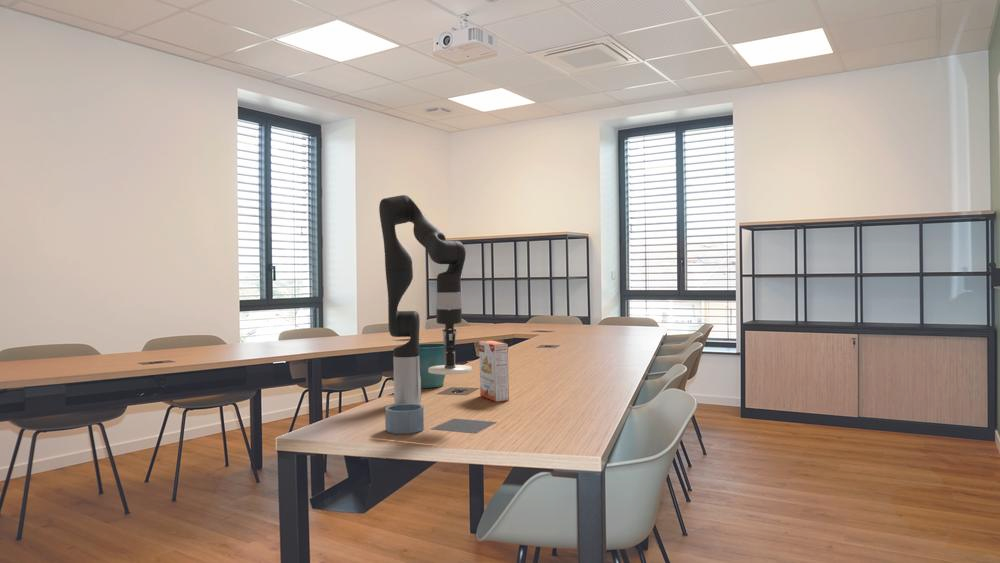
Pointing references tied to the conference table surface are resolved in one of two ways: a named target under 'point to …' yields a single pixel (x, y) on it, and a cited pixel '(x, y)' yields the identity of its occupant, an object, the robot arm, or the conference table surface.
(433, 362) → the flower pot
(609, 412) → the conference table surface
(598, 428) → the conference table surface
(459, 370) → the lid
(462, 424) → the mat
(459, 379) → the conference table surface
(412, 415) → the bowl
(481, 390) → the cracker box
